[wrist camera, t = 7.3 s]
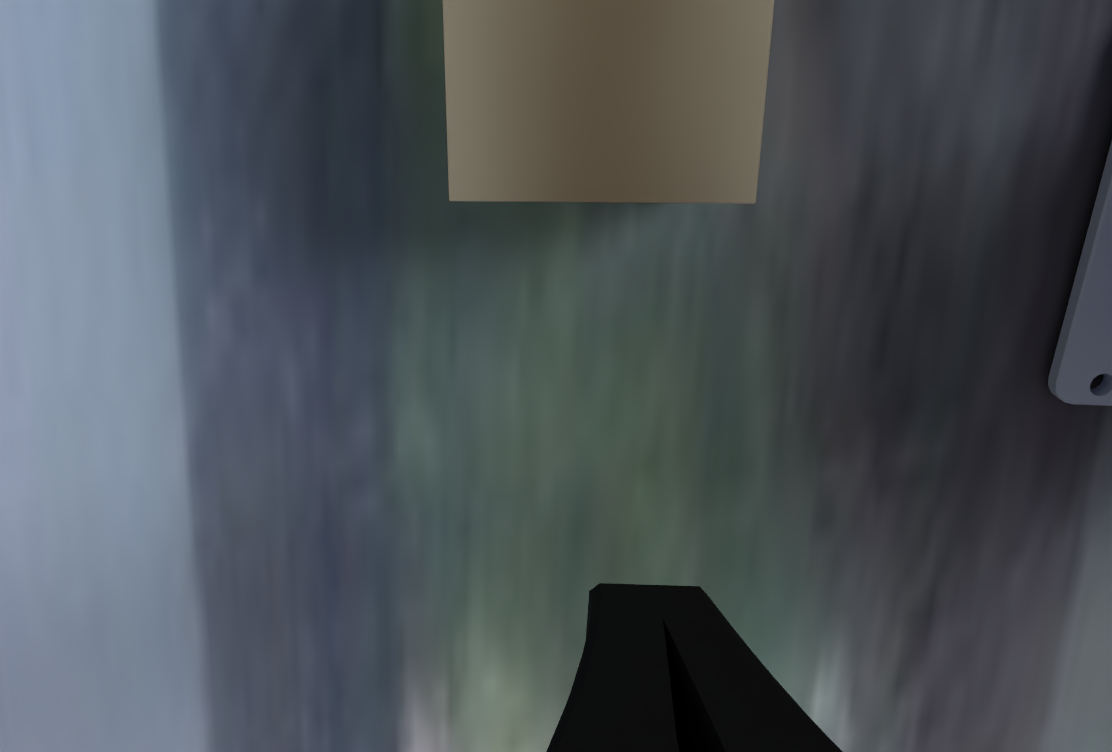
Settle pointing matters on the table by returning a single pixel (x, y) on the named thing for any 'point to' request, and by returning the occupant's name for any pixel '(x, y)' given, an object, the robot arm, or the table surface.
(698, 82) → the birch block
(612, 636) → the robot arm
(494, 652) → the table surface
